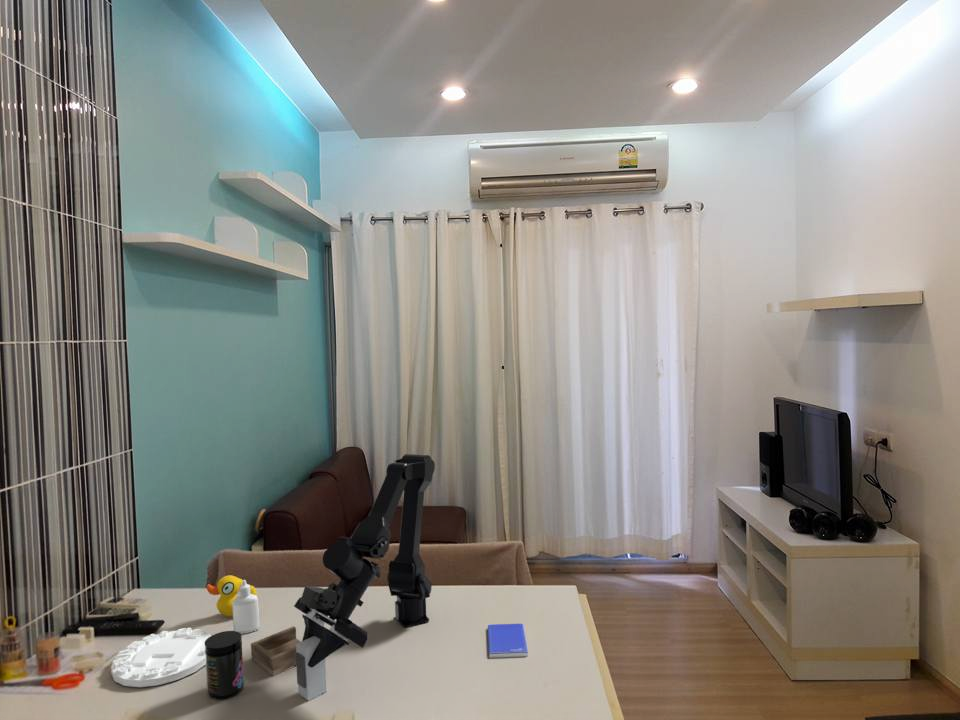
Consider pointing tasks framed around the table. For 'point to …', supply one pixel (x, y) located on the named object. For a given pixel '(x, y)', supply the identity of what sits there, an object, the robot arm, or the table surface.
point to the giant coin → (160, 658)
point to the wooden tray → (276, 651)
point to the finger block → (309, 670)
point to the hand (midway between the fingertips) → (304, 662)
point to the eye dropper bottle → (245, 610)
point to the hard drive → (507, 640)
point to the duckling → (227, 593)
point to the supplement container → (224, 664)
